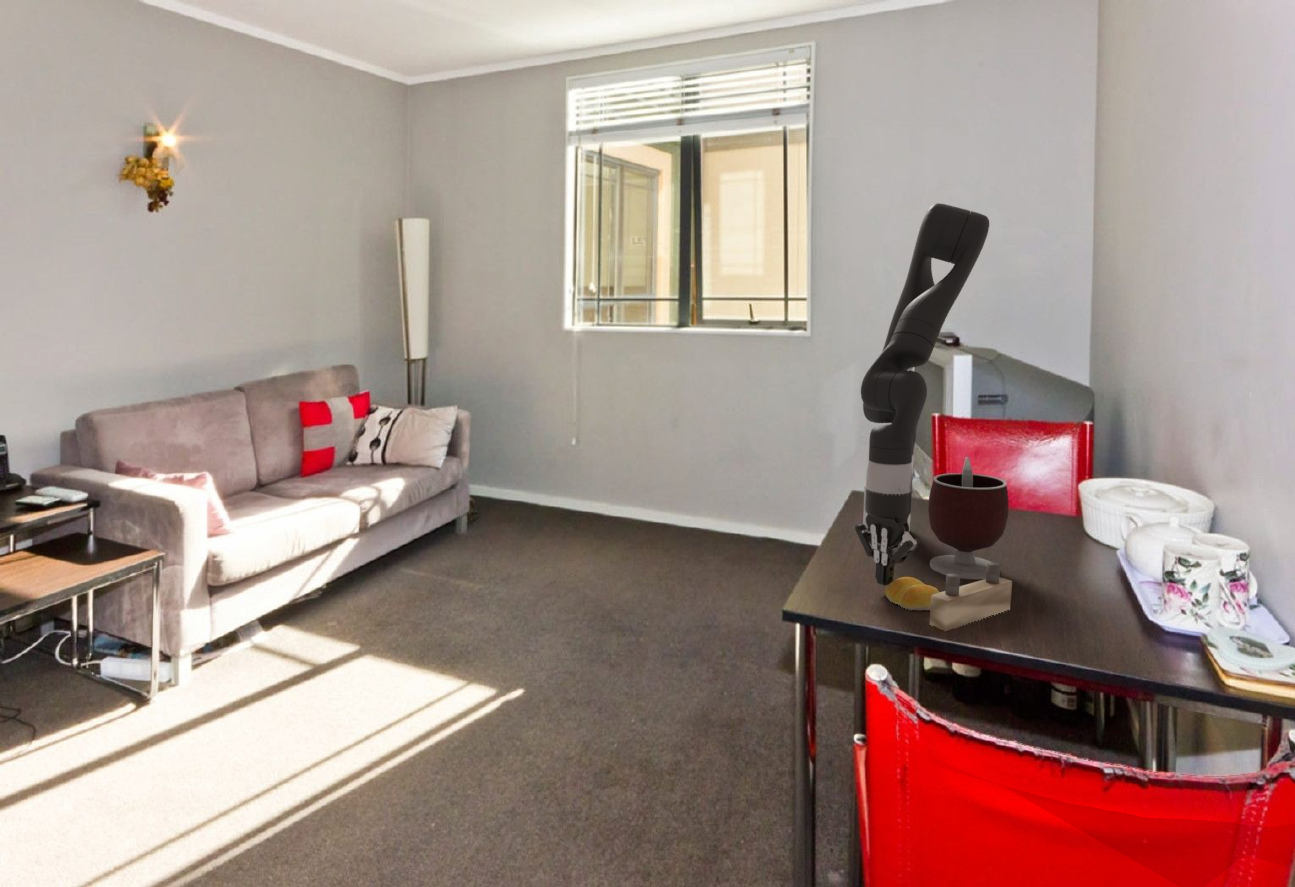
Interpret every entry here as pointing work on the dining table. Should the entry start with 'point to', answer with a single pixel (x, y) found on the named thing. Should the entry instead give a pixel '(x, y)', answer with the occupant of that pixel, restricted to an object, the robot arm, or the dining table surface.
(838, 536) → the dining table surface
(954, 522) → the mate gourd
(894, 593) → the bread roll
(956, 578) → the bar
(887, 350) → the robot arm
